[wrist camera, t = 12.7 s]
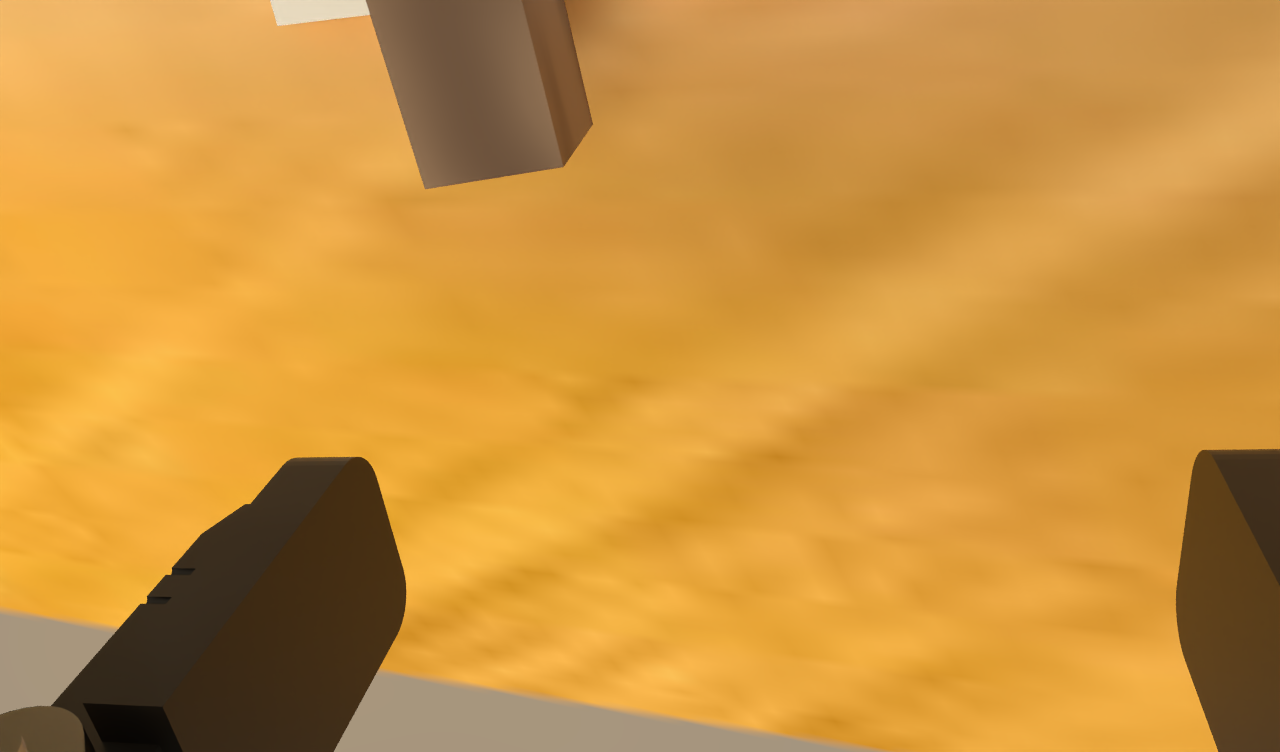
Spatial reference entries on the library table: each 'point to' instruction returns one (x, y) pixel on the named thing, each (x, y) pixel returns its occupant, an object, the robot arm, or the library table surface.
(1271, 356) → the library table surface
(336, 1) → the white stand base
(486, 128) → the walnut bar
